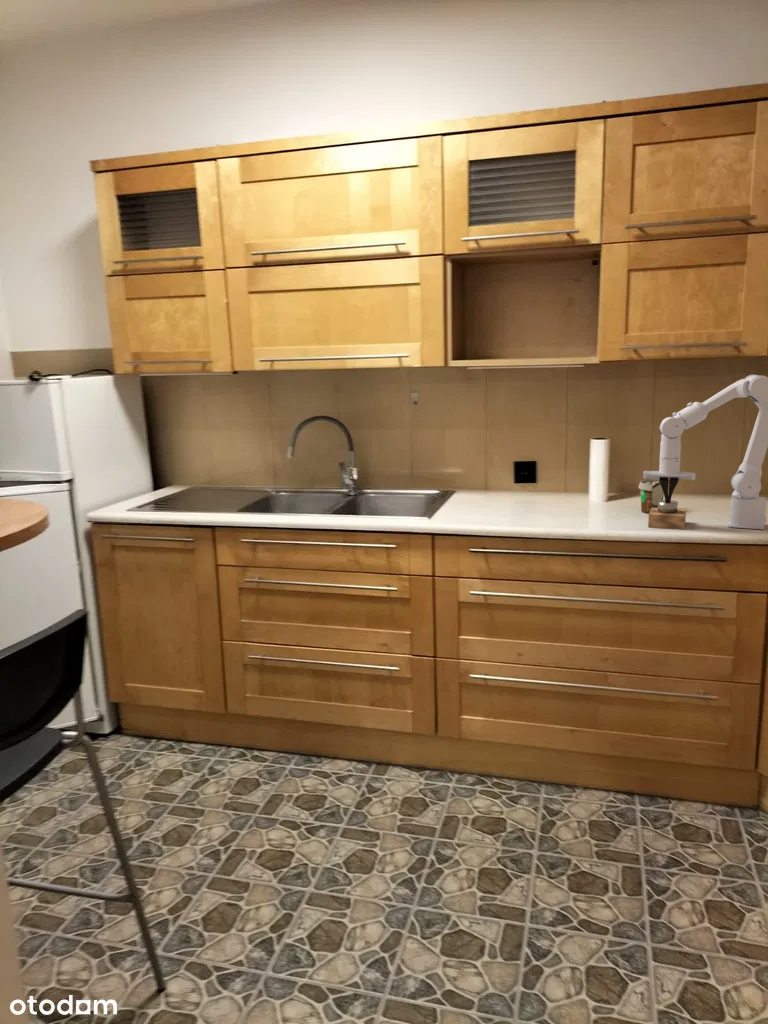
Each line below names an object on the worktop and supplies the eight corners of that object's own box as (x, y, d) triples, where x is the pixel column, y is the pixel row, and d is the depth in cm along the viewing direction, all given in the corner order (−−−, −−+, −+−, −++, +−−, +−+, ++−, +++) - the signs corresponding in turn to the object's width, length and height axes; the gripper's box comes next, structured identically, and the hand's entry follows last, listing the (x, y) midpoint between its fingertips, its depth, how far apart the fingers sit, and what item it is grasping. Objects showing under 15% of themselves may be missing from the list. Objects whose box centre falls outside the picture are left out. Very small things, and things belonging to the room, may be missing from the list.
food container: (645, 506, 251) (646, 477, 249) (663, 508, 248) (665, 478, 245) (631, 513, 242) (632, 483, 240) (650, 515, 238) (651, 484, 236)
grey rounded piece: (677, 521, 226) (678, 500, 225) (675, 525, 222) (676, 504, 220) (658, 520, 229) (659, 499, 228) (655, 524, 224) (656, 503, 223)
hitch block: (685, 521, 228) (686, 509, 227) (683, 529, 219) (684, 516, 218) (650, 520, 232) (651, 507, 231) (648, 527, 223) (648, 514, 222)
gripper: (696, 456, 221) (694, 500, 224) (645, 455, 227) (643, 498, 230) (696, 459, 215) (693, 505, 218) (643, 458, 221) (641, 503, 224)
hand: (667, 502), depth 224 cm, fingers closed, pressing on grey rounded piece
